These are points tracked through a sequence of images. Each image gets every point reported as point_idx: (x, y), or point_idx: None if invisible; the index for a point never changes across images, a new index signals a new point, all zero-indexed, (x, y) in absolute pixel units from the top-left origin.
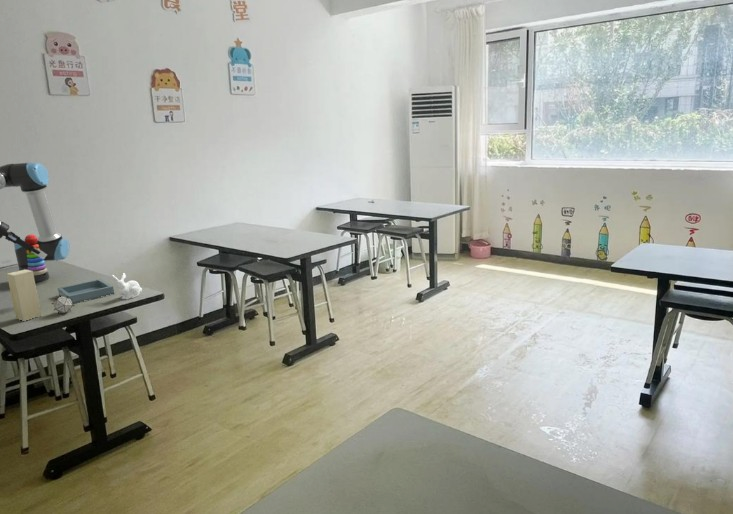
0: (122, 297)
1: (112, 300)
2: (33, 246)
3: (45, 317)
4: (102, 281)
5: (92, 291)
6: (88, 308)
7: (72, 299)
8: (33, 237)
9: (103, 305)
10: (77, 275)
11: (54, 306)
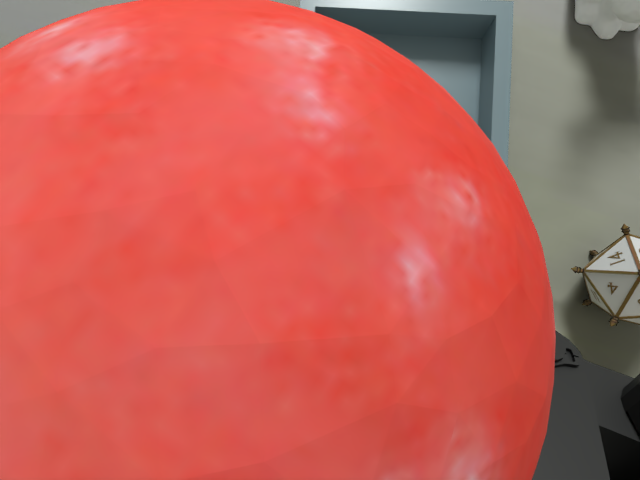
0: (614, 31)
1: (590, 73)
2: (566, 349)
3: (597, 364)
4: (365, 2)
5: (508, 98)
6: (624, 186)
7: (624, 225)
8: (530, 228)
9: (635, 127)
10: (3, 27)
11: (637, 323)
